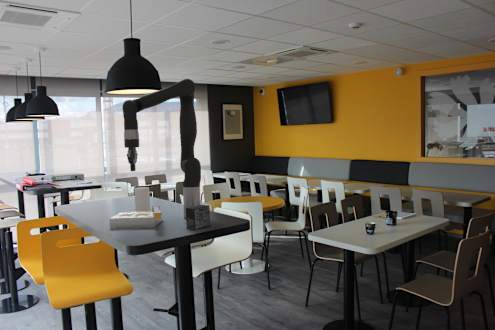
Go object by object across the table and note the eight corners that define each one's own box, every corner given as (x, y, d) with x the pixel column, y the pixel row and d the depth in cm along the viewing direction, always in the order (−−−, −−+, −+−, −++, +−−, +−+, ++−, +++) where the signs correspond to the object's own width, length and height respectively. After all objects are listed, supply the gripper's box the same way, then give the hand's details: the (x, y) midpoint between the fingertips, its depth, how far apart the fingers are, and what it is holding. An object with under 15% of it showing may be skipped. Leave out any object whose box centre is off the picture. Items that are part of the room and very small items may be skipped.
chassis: (162, 220, 214) (161, 209, 214) (155, 227, 196) (154, 216, 196) (120, 221, 213) (120, 211, 213) (110, 228, 195) (109, 217, 195)
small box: (201, 225, 198) (201, 204, 198) (211, 226, 194) (210, 205, 194) (185, 229, 190) (185, 207, 190) (195, 230, 186) (194, 208, 186)
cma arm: (152, 211, 206) (152, 205, 206) (159, 211, 207) (159, 205, 206) (153, 219, 184) (153, 212, 184) (161, 219, 185) (161, 212, 185)
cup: (146, 216, 225) (145, 188, 224) (133, 216, 226) (131, 188, 225) (152, 214, 233) (151, 187, 232) (139, 214, 234) (138, 187, 233)
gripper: (128, 138, 216) (129, 170, 218) (120, 138, 203) (122, 172, 204) (141, 138, 217) (143, 170, 218) (135, 138, 203) (136, 171, 204)
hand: (133, 171), depth 211 cm, fingers closed
